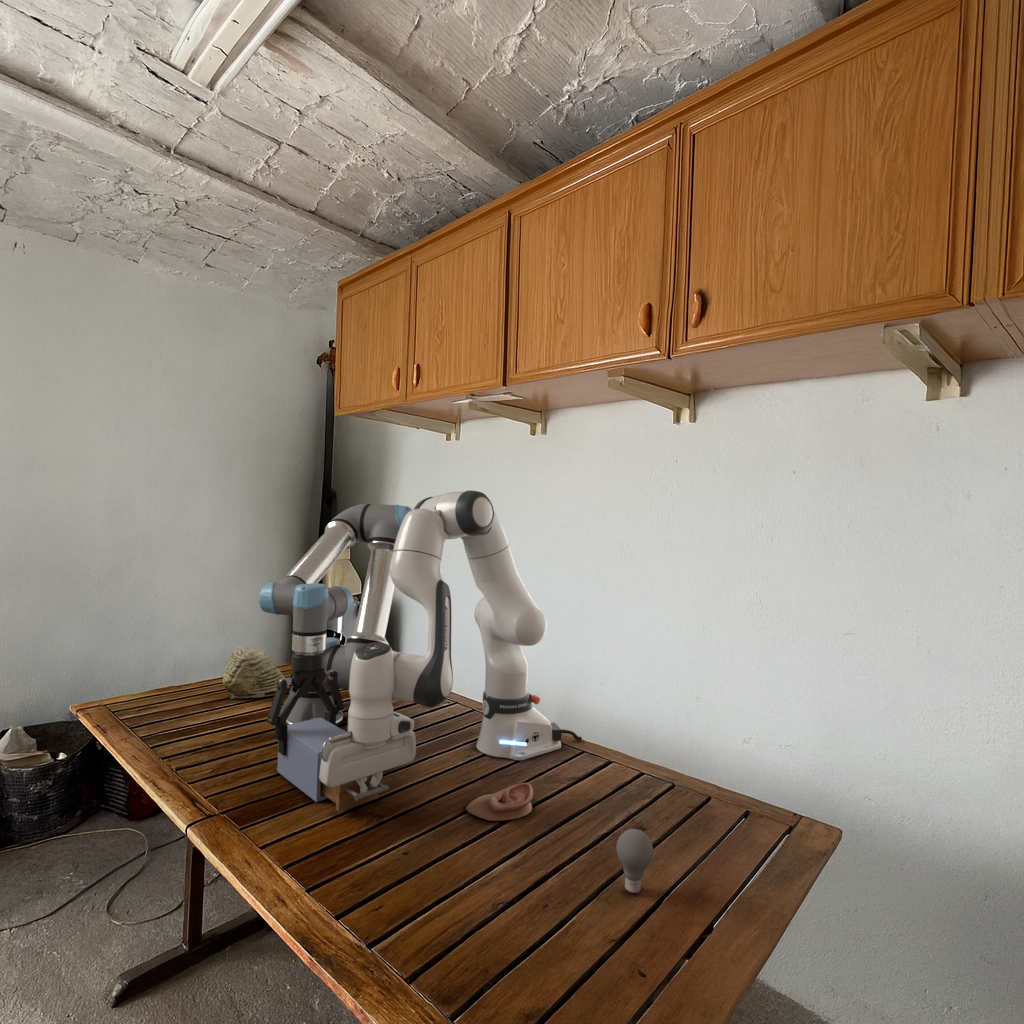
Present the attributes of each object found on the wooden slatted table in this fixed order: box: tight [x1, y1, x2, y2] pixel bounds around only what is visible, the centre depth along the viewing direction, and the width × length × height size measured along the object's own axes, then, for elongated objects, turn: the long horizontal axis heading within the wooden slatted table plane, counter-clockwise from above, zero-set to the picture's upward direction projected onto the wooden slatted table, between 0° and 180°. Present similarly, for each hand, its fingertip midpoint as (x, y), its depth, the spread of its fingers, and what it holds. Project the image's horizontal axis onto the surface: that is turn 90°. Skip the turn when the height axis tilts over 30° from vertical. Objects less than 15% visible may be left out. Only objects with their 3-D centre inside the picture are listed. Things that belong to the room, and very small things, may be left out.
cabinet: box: [276, 717, 348, 803], centre depth 141 cm, size 19×10×10 cm, turn 44°
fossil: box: [222, 646, 286, 699], centre depth 198 cm, size 9×18×15 cm, turn 132°
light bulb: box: [615, 828, 654, 894], centre depth 106 cm, size 6×6×10 cm
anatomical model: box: [465, 782, 534, 822], centre depth 132 cm, size 13×4×12 cm
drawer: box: [320, 775, 390, 812], centre depth 133 cm, size 23×9×8 cm, turn 44°
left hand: (305, 747), depth 146 cm, fingers closed on cabinet, 10 cm apart
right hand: (368, 794), depth 127 cm, fingers closed, pressing on drawer
